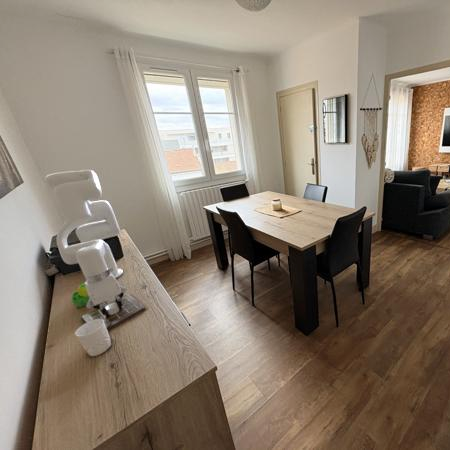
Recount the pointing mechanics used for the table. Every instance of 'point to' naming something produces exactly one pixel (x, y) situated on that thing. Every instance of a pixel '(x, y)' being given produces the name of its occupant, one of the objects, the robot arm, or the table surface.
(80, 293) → the fruit basket
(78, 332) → the white cup
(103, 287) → the robot arm
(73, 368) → the table surface
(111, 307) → the white round puck
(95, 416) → the table surface
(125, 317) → the board
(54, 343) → the table surface
